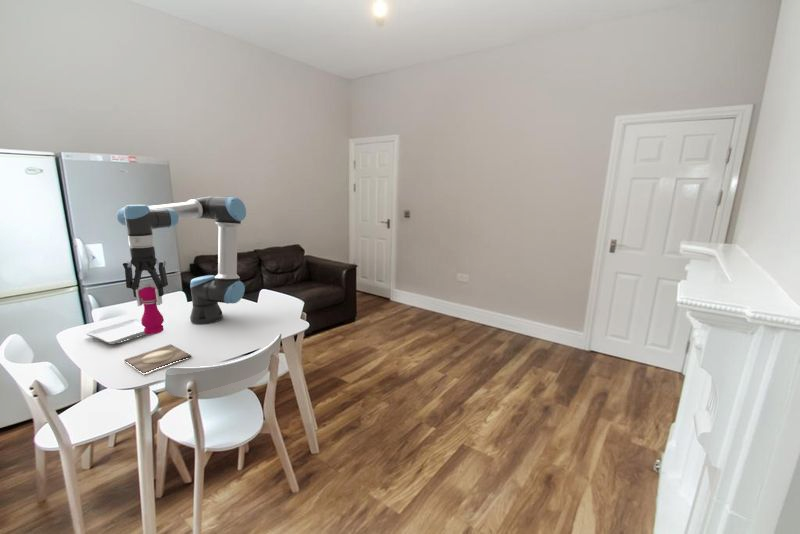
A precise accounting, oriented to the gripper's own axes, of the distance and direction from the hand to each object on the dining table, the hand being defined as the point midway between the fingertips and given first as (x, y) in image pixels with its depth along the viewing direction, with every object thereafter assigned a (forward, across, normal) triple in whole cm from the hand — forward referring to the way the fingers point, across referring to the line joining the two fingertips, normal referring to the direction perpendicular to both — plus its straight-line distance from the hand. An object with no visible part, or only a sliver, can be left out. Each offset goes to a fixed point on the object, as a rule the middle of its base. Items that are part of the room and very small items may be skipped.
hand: (150, 304), depth 136 cm
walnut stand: (+24, 0, 0) cm, 24 cm away
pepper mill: (+12, 0, 0) cm, 12 cm away
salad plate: (+24, -26, +29) cm, 46 cm away
